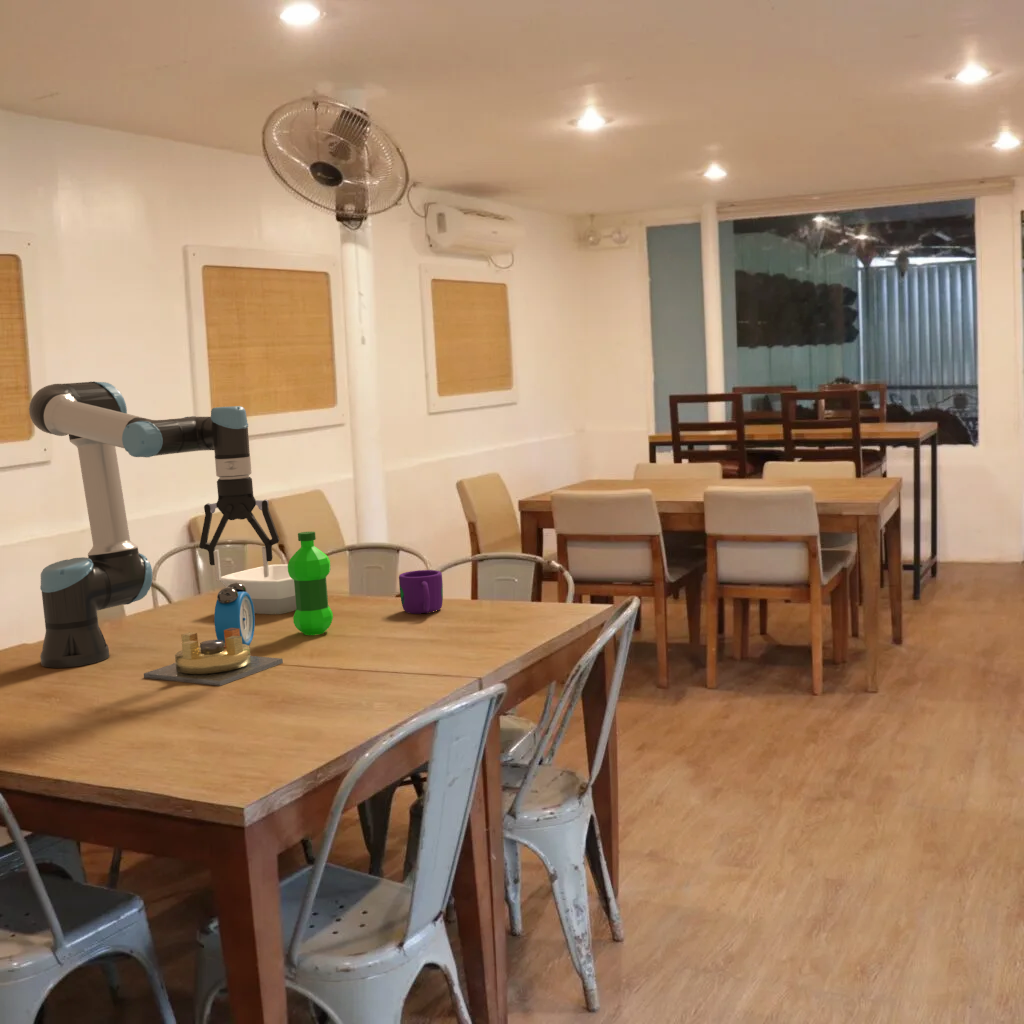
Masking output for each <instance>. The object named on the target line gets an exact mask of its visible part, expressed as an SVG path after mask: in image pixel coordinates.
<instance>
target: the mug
mask: <svg viewBox="0 0 1024 1024" xmlns="http://www.w3.org/2000/svg"><path fill="white" fill-rule="evenodd" d="M398 582H399V583H398V584H399V592H400V593H399V595H400V601H401V606H402V609H403V611H404V612H406V613H407V614H410V613H411V614H413V615H422V614H421V613H426V614H430V613H429V612H432V613H434V612H433V611H436V610H438V611H440V610H441V609H442V606H443V601H444V596H443V593H444V591H443V587H444V586H443V585H444V584H443V574H442V571H439V570H434V569H422V570H421V569H419V570H411V571H406V572H403V573H400V574H399V575H398ZM440 608H441V609H440ZM436 612H437V611H436Z"/></svg>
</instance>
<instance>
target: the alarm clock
mask: <svg viewBox="0 0 1024 1024" xmlns="http://www.w3.org/2000/svg"><path fill="white" fill-rule="evenodd" d="M213 616H214V620H213V622H214V623H213V624H214V631H215V637H216V640H223V642H224V643H225V638H224V630H226V629H229V628H239V630H240V636H242V644H246V645H248V646H249V647H250V645H251V643H252V642H253V639H254V634H255V628H256V627H255V623H256V622H255V621H256V619H255V618H256V617H255V613H254V607H253V602H252V599H251V597H250V595H249V594H248V593H247V590H246V587H245V586H244V585H242V584H240V583H237V582H236V583H232V584H230V585H228V586H227V587H226V586H225V587H223V588H222V589H220V590H219V591H218V592H217V595H216V603H215V606H214V615H213Z"/></svg>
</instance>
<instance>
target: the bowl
mask: <svg viewBox="0 0 1024 1024" xmlns="http://www.w3.org/2000/svg"><path fill="white" fill-rule="evenodd" d="M268 570H269V576H268V577H264V567H263V566H262V565H261V566H258V567H253V568H248V569H245V570H241V571H236V572H233V573H228V574H226V575H221V579H220V581H219V582H221V584H223V585H224V587H225V588H226V587H227V586H228V585H230V584H232V583H236V582H237V583H240V584H242V585H244V586H245V587H246V590H247V593H248V594H249V595H250V597H251V599H252V602H253V607H254V614H259V615H283V614H287V613H291V612H295V611H296V598H295V585H294V580H293V579H292V578H291V577H290V576H289V573H288V563H286V564H275V563H274V564H268ZM330 571H331V567H330Z"/></svg>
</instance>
